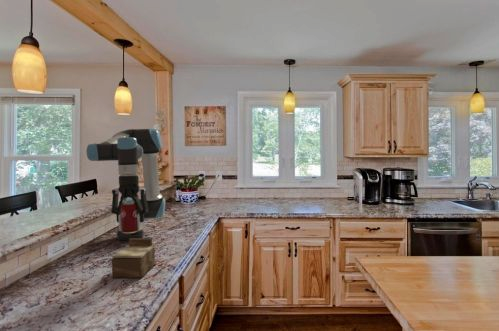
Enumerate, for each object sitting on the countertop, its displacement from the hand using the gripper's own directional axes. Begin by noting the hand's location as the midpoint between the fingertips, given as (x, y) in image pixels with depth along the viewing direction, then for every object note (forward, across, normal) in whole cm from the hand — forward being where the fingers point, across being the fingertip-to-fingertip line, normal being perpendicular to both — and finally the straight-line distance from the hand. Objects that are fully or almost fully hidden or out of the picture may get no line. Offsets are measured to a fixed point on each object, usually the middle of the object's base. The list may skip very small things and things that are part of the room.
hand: (130, 229), depth 121 cm
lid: (+10, 0, +3) cm, 11 cm away
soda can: (+1, 0, 0) cm, 1 cm away
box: (+19, 0, +2) cm, 19 cm away
